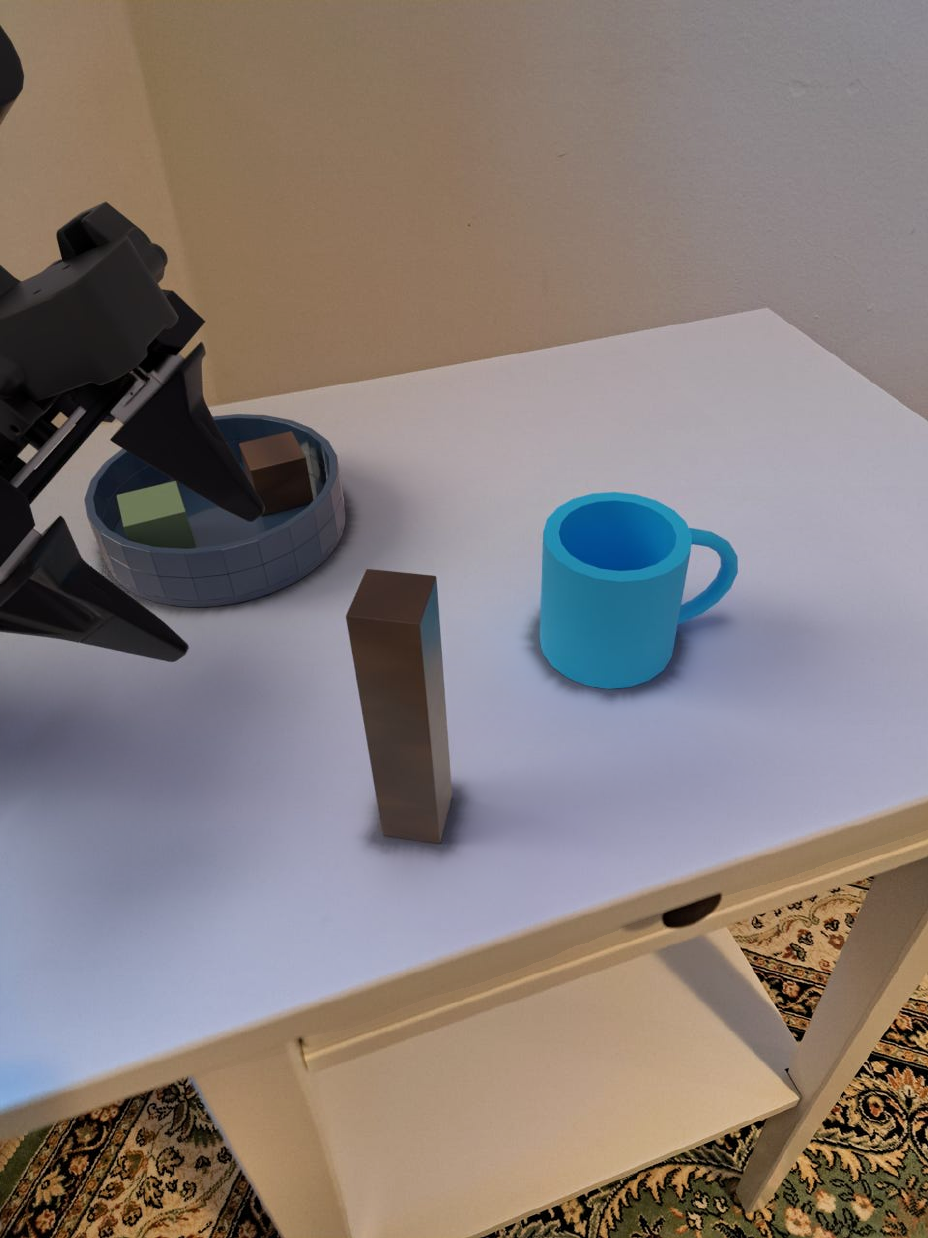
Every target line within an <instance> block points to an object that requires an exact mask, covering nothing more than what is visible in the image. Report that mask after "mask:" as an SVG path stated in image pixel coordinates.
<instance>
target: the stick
mask: <svg viewBox="0 0 928 1238" xmlns="http://www.w3.org/2000/svg"><path fill="white" fill-rule="evenodd" d="M440 620H441V619H440V607H439V592H438V579H437V575H434V574H433V575H431V574H422V573H411V572H403V571H394V570H393V571H392V570H382V569H374V568H373V569H372V568H366V569H365V571H364V574H363V576H362V578H361V581H360V582H359V585H358V587H357V590H356V592H355V594H354V597H353V599H352V601H351V603H350V606H349V608H348V611H347V612H346V614H345V621H346V625H347V631H348V632H347V633H348V637H349V644H350V651H351V656H352V661H353V667H354V674H355V680H356V685H357V691H358V692H357V693H358V697H359V703H360V709H361V715H362V720H363V725H364V733H365V737H366V738H365V740H366V744H367V750H368V751H367V752H368V757H369V762H370V768H371V775H372V780H373V786H374V792H375V799H376V804H377V810H378V815H379V821H380V822H379V823H380V828H381V834H382V835H383V836H386V837H391V838H397V839H406V840H410V841H411V840H412V841H418V842H424V843H431V844H438V845H440V844H441V841H442V839H443V833H444V830H445V826H446V822H447V818H448V814H449V811H450V807H451V802H452V799H453V789H452V788H453V787H452V775H451V762H450V745H449V731H448V720H447V719H448V718H447V706H446V691H445V690H446V689H445V678H444V677H445V676H444V663H443V651H442V650H443V647H442V635H441V634H442V633H441V621H440Z"/></svg>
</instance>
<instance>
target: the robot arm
mask: <svg viewBox="0 0 928 1238" xmlns="http://www.w3.org/2000/svg"><path fill="white" fill-rule="evenodd" d="M24 83H25V73H24V69H23V64H22V60H21V58H20V56H19V53H18V52H17V50H16V48H15V46H14V43H13V41H12V39H11V38H10V37H9V36H8V34H7V32H6V31H5V29H4V28H3V27H2V25H1V24H0V126H1V124H2V123H3V122H4V120H5V119H6V117H7V115H8V114H9V112H10V111H11V109H12V107H13V106H14V104H15V103H16V101H17V99H18V97H20V94H21V93H22V91H23V89H24ZM55 234H56V236H55V238H56V241H57V245H58V250H59V254H60V258H59V259H57V260H55V261H53V262H52V263H50V265H48V266H47V267H46V268H45V269H44V270H42V271H41V272H39V273H37V274H35V275H33V276H30V277H28V278H26V279H24V280H20V279H18V278H16V276H14V275H13V274H11V272H9V271H8V270H7V269H6V268H5V267H4V266H3V265H1V264H0V633H6V634H15V635H24V636H32V637H42V638H50V639H56V640H63V641H67V642H73V643H77V644H84V645H88V646H92V647H97V648H101V649H107V650H112V651H115V652H121V653H125V654H131V655H134V656H140V657H144V658H149V659H153V660H158V661H163V662H164V661H165V662H168V663H175V662H177V661H179V660H180V659H182V658H183V657H184V656H186V655H187V654H188V651H189V650H190V647H189V644H188V643H187V642H186V641H185V640H184V639H183V638H182V637H181V636H180V635H179V634H178V633H177V632H176V631H174V630H173V628H171V627H170V626H169V625H168V624H167V623H166V622H165V621H164V620H162V619H161V618H160V617H158V616H157V615H156V614H154V613H153V612H152V611H150V610H149V609H148V608H147V607H145V606H144V605H143V604H141V603H140V602H139V601H138V600H137V599H135V598H133V597H132V595H129V594H128V593H127V592H126V591H124V590H123V589H122V588H120V587H119V586H118V585H117V584H115V583H113V581H111V580H110V579H109V578H107V577H106V576H104V575H103V574H102V573H100V571H98V570H97V569H96V568H94V567H93V566H91V565H90V564H88V563H87V562H86V561H85V559H84V558H83V557H82V555H81V553H80V551H79V549H78V546H77V544H76V542H75V539H74V537H73V535H72V533H71V531H70V528H69V526H68V523H67V521H66V519H65V517H64V516H62V515H59V516H58V517H56V519H55V520H54V521H53V522H52V523H51V524H50V525H48V526H47V528H46V529H44V530H43V532H39V531H38V530H37V529H35V527H36V522H35V519H34V515H33V511H32V508H31V505H32V503H33V502H34V501H35V500H36V499H37V498H38V496H39V495H40V494H41V493H42V492H43V491H44V490H45V488H46V487H47V486H48V485H49V484H50V482H51V481H52V480H53V479H54V478H55V477H56V476H57V474H58V473H59V472H60V471H61V470H62V469H63V467H64V466H65V465H66V464H67V463H68V462H69V461H70V460H71V458H73V456H74V455H75V454H76V453H77V451H78V450H79V449H80V448H81V447H82V446H83V444H84V443H85V442H86V441H87V440H88V439H89V437H90V436H91V435H92V434H93V433H94V432H95V430H96V429H97V428H98V427H99V426H100V425H101V424H102V422H104V423H113V422H114V421H115V420H117V421H119V422H120V423H121V425H120V426H119V428H118V429H117V430H116V432H114V434H113V435H112V436H111V437H110V439H109V441H110V442H112V443H113V444H115V445H116V446H118V447H120V448H121V449H122V448H123V449H124V450H126V451H128V452H129V453H131V454H133V455H134V456H136V457H138V458H139V459H141V460H143V461H144V462H146V463H147V464H150V465H151V466H153V467H154V468H156V469H158V470H159V471H161V472H163V473H164V474H166V475H167V476H169V477H171V478H172V479H174V480H176V481H177V482H179V483H181V484H182V485H184V486H186V487H187V488H189V489H190V490H192V491H194V492H195V493H197V494H199V495H200V496H202V497H204V498H205V499H207V500H209V501H210V502H212V503H213V504H215V505H217V506H218V507H220V508H222V509H224V510H226V511H228V512H230V513H232V514H234V515H236V516H238V517H240V518H242V519H244V520H246V521H248V522H253V521H255V520H256V519H257V518H259V517H260V516H261V515H262V514H263V512H264V511H265V506H264V504H263V502H262V501H261V499H260V497H259V496H258V494H257V492H256V491H255V489H254V487H253V486H252V484H251V482H250V481H249V479H248V477H247V476H246V474H245V472H244V471H243V469H242V467H241V466H240V464H239V462H238V461H237V459H236V457H235V456H234V454H233V452H232V451H231V449H230V447H229V446H228V444H227V442H226V441H225V439H224V437H223V436H222V434H221V432H220V430H219V429H218V427H217V425H216V423H215V421H214V419H213V417H212V416H213V415H212V413H211V411H210V409H209V407H208V405H207V403H206V401H205V397H204V389H203V388H204V387H203V359H204V358H205V356H206V354H207V351H206V347H205V344H204V343H203V342H202V341H200V342H199V343H198V344H196V346H195V347H194V348H193V349H192V350H191V351H190V352H189V353H188V354H187V355H186V356H185V357H184V356H183V355H182V354H181V351H183V349H184V348H185V347H186V346H187V344H188V343H189V342H190V341H191V340H192V339H193V337H194V336H195V335H196V334H197V332H198V331H200V329H201V328H202V326H203V325H204V324H205V323H206V320H205V319H203V317H202V316H200V315H199V314H198V313H197V312H196V311H195V310H194V309H193V308H192V307H191V306H190V305H189V304H188V303H187V302H186V301H184V300H183V299H182V297H181V296H179V295H178V294H177V293H176V292H175V290H171V289H162V288H161V286H160V285H159V283H160V282H161V281H162V280H163V279H164V277H165V270H166V266H167V265H168V261H169V258H168V254H167V252H166V251H165V249H164V248H163V247H162V246H161V245H159V244H157V243H155V242H154V243H153V242H152V241H151V239H150V238H149V236H148V235H147V234H146V233H145V232H144V231H143V230H142V229H141V228H140V227H139V226H137V225H136V224H135V223H134V222H132V221H131V220H130V219H128V217H126V216H125V215H124V214H122V213H121V212H120V211H119V210H118V209H117V208H115V207H114V206H112V205H111V204H110V203H109V202H108V201H103V202H102V203H99V204H97V205H95V206H92V207H90V208H88V209H85V210H84V211H82V212H80V213H78V214H77V215H76V216H74V217H73V218H72V219H70V220H69V221H68V222H67V223H64V225H63V226H61V227H60V228H58V229H57V230H56V233H55ZM59 414H62V415H63V416H65V417H66V418H67V419H66V420H65V421H64V422H63V423H62V424H61V426H60V427H57V426H56V425H55V424H54V423H53V421H54V420H55V419H56V418H57V417H58V416H59ZM28 445H30V447H32V448H34V449H35V450H36V451H37V452H36V453H35V454H34V455H33V456H32V457H31V458H30V459H29V460H28V461H27V462H26V461H24V459H22V458H21V457H20V456H19V455H20V454H21V453H22V452H23V451H24V450H25V449H26V447H28Z"/></svg>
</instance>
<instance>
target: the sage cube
mask: <svg viewBox="0 0 928 1238" xmlns="http://www.w3.org/2000/svg"><path fill="white" fill-rule="evenodd" d="M117 500H118V504H119V509H120V513H121V518H122V522H123V527H124V530H125V532H126V535H127V538H128V540H129V541H133V542H137V543H141V544H145V545H149V546H153V547H163V548H182V549H190V548H197V547H196V544H195V541H194V538H193V534H192V531H191V528H190V524H189V521H188V518H187V514H186V511H185V508H184V505H183V502H182V498H181V495H180V492H179V489H178V486H177V483H176V481H173V482H169V483H165V484H161V485H157V486H152V487H148V488H144V489H140V490H136V491H132V492H127V493H123V494H119V495H117Z"/></svg>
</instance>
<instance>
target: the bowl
mask: <svg viewBox="0 0 928 1238" xmlns="http://www.w3.org/2000/svg"><path fill="white" fill-rule="evenodd" d="M212 417H213V419H214V421H215V423H216V425H217V427H218V429H219V430H220V432H221V434H222V436H223V437H224V439H225V441H226V442H227V444H228V446H229V447H230V449H231V451H232V452H233V454H234V456H235V457H236V459H237V461H238V462H239V464H240V466H241V467H242V469H243V471H244V472H245V468H244V464H243V460H242V456H241V451H240V447H239V443H243V442H247V441H252V440H256V439H260V438H264V437H269V436H273V435H277V434H281V433H286V432H290V431H292V432H293V434H294V436H295V438H296V440H297V442H298V444H299V445H300V447H301V449H302V451H303V453H304V455H305V457H306V461H307V466H308V472H309V477H310V483H311V488H312V494H313V501H312V503H311V504H308V505H304V506H300V507H296V508H293V509H289V510H285V511H281V512H277V513H273V514H269V515H265V516H260V517H259V518H257V519H256V520H255V521H253V522H248V521H246V520H244V519H242V518H240V517H238V516H236V515H234V514H232V513H230V512H228V511H226V510H224V509H222V508H220V507H218V506H217V505H215V504H213V503H212V502H210V501H209V500H207V499H205V498H204V497H202V496H200V495H199V494H197V493H195V492H194V491H192V490H190V489H189V488H187V487H186V486H184V485H182V484H181V483H179V482H177V481H176V480H174V479H172V478H171V477H169V476H167V475H166V474H164V473H163V472H161V471H159V470H158V469H156V468H154V467H153V466H151V465H150V464H147V463H146V462H144V461H143V460H141V459H139V458H138V457H136V456H134V455H133V454H131V453H129V452H128V451H126V450H124V449H123V448H121V449H120V450H119V451H117V452H116V453H114V454H113V455H111V457H109V458H108V459H107V460H106V461H104V463H102V465H101V466H100V468H99V469H98V470H97V471H96V473H95V474H94V475H93V476H92V477H91V478H90V481H89V484H88V487H87V489H86V493H85V496H84V506H85V507H84V508H85V511H86V517H87V520H88V523H89V525H90V528H91V531H92V532H93V536H94V537H95V540H96V543H97V545H98V548H99V550H100V553H101V556H102V558H103V561H104V563H105V564H106V565H107V568H108V570H109V571H110V573H111V575H112V577H113V578H114V580H116V581H117V582H118V583H119V584H120V585H121V586H122V587H124V588H125V589H126V590H127V591H129V592H131V593H133V594H135V595H136V596H139V597H141V598H143V599H145V600H148V601H152V602H154V603H159V604H163V605H169V606H175V607H184V608H207V607H221V606H226V605H233V604H240V603H242V602H243V603H244V602H247V601H251V600H255V599H258V598H262V597H264V596H267V595H270V594H273V593H275V592H277V591H280V590H282V589H285V588H287V587H288V586H290V585H292V584H294V583H296V582H298V581H300V580H301V579H303V578H304V577H307V575H309V574H310V573H312V572H313V571H314V570H315V569H317V568H318V567H319V566H321V565H322V564H323V563H324V562H325V560H326V559H327V558H328V557H329V556H330V555H331V554H332V553H333V551H334V550H335V549H336V548H337V546H338V544H339V543H340V540H341V539H342V536H343V534H344V530H345V526H346V517H347V516H346V510H345V498H344V492H343V491H344V490H343V486H342V479H341V472H340V465H339V459H338V455H337V453H336V451H335V450H334V448H333V446H332V444H331V443H330V441H329V440H328V439H327V438H325V437H324V436H323V435H321V434H320V433H319V432H318V431H316V430H315V429H313V428H312V427H310V426H307V425H305V424H302V423H300V422H298V421H295V420H293V419H288V418H284V417H277V416H272V415H267V414H251V413H235V414H234V413H233V414H222V415H214V416H213V415H212ZM245 474H246V472H245ZM173 481H176V483H177V486H178V489H179V492H180V495H181V498H182V502H183V505H184V508H185V511H186V514H187V518H188V521H189V524H190V528H191V531H192V534H193V538H194V541H195V544H196V547H197V548H190V549H182V548H163V547H153V546H149V545H145V544H141V543H137V542H133V541H129V540H128V538H127V535H126V532H125V530H124V527H123V522H122V518H121V513H120V509H119V504H118V500H117V495H119V494H123V493H127V492H132V491H136V490H140V489H144V488H148V487H152V486H157V485H161V484H165V483H169V482H173Z"/></svg>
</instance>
